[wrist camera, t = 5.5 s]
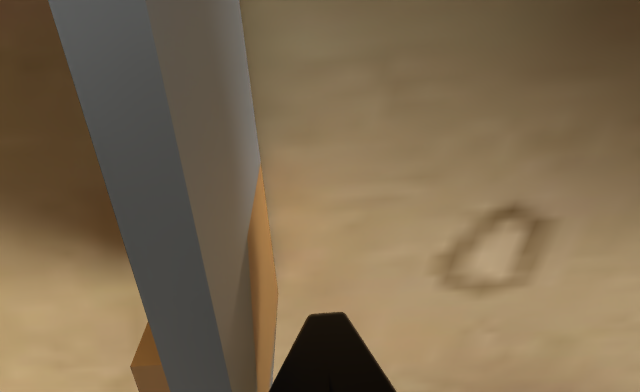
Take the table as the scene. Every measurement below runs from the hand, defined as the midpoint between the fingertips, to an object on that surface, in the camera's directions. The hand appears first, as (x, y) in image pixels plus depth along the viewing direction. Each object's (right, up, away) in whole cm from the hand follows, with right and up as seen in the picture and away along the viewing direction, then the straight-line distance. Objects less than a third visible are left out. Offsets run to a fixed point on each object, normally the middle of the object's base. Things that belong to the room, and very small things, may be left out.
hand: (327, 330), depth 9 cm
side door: (-3, +9, -1) cm, 10 cm away
